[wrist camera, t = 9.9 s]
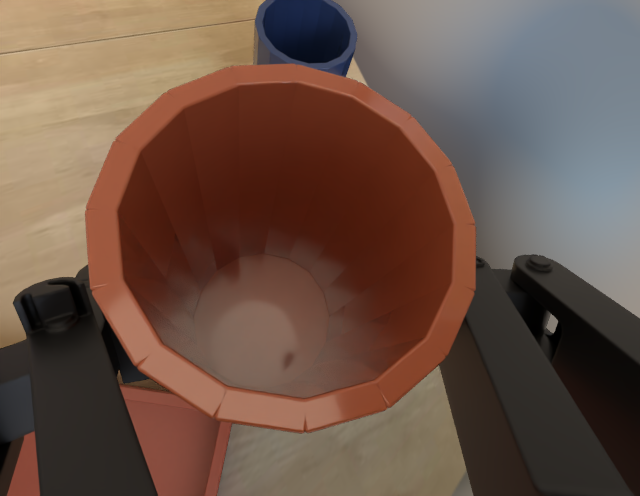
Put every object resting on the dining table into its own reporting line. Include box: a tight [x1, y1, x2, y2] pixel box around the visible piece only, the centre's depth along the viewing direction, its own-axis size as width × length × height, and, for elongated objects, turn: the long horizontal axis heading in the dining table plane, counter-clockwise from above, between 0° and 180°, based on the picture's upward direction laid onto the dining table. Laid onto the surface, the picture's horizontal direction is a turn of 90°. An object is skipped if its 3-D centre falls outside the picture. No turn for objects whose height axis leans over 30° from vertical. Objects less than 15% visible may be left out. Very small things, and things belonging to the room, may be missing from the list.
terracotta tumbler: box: [85, 63, 476, 434], centre depth 12 cm, size 7×7×12 cm
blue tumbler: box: [253, 0, 357, 77], centre depth 32 cm, size 7×7×12 cm
